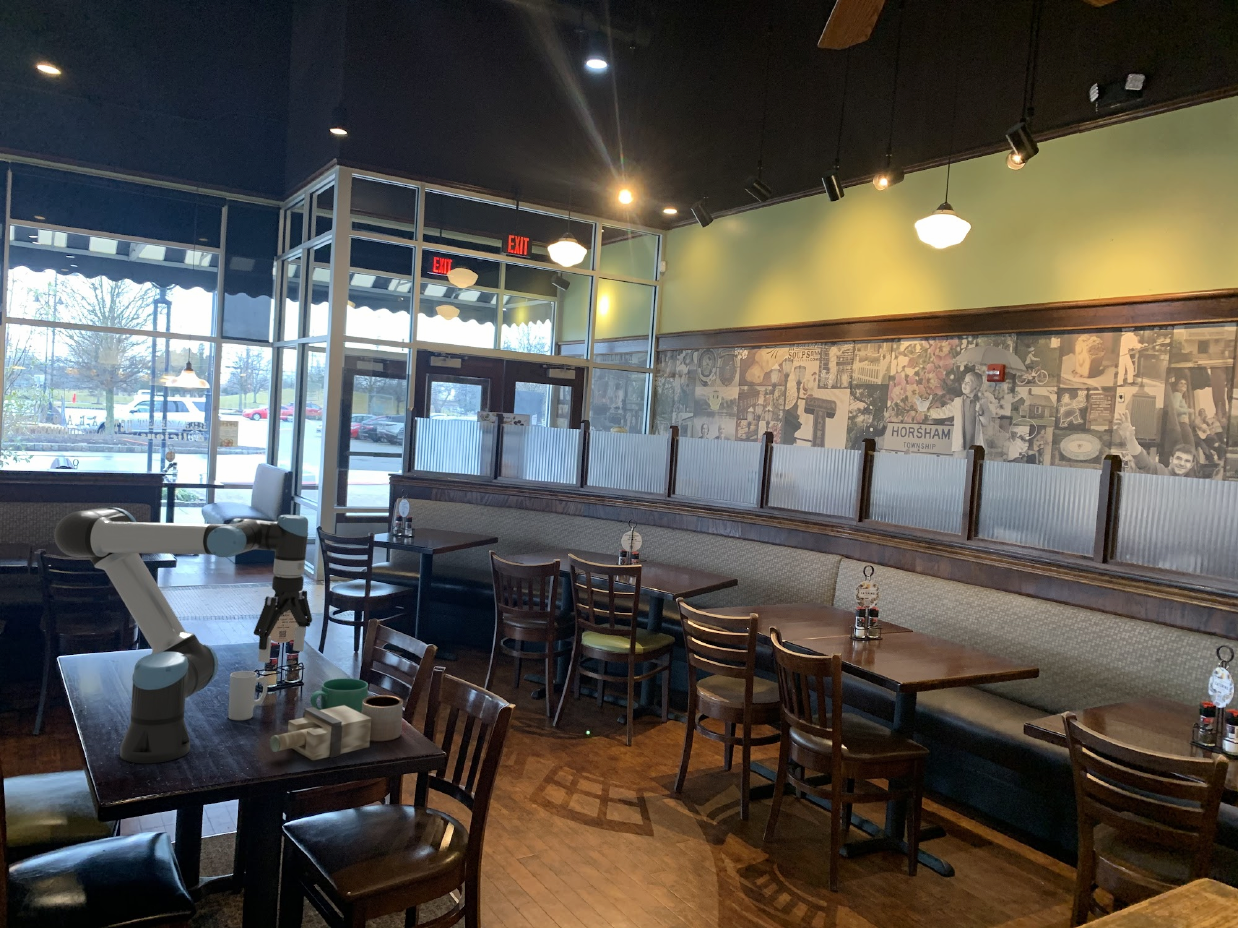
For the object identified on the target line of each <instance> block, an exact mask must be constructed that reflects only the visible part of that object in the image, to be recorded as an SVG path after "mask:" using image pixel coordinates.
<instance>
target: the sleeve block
mask: <svg viewBox="0 0 1238 928" xmlns="http://www.w3.org/2000/svg"><path fill="white" fill-rule="evenodd" d="M287 723H288V725H287V733H289V732H294V731H299V730H304V729H308V728H313V727H318V726H322V727H323V728H318V729H313V730H309V731H307V737H306V745H302V746H298V747H293V748H291V749H293V750H295V751H296V752H298V754H301V755H303V756H305V757H306V758H308V759H309V760H311V761H317V760H321V759H325V758H329V757H330V758H332V759H333V758H336V757H341V755H342V754H346V753H350V752H354V751H357V750H362V749H365V748H369V747H370V742H371V741H370V729H371V718H370V717H368V716H366V715H364V714H362V713H359V712H357V711H355V710H353V709H351V708H349V707H347V706H345V705H343V706H338V707H333V708H328V709H323V710H318V709H316V708H314V707H313V706H312V707H311V706H310V707H307V708H304V710H303V712H302V717H301V718H296V719H291V720H288V722H287Z"/></svg>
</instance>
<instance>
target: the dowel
mask: <svg viewBox="0 0 1238 928" xmlns="http://www.w3.org/2000/svg"><path fill="white" fill-rule="evenodd" d="M318 728H323V727H322V726H318V727H313V728H308V729H304V730H299V731H294V732H289V733H288V732H286V733H281V734H280V733H279V734H275V735H272V736H271V737H270V740H269V742H270V743H269V746H270V750H271V751H272V752H274V753H276V752H279V751H284V750H287V749H288V750H289V749H292V748H293V747H298V746H302V745H306V737H307V731H309V730H313V729H318Z"/></svg>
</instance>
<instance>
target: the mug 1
mask: <svg viewBox="0 0 1238 928" xmlns="http://www.w3.org/2000/svg"><path fill="white" fill-rule="evenodd" d="M258 683H260V684H261V685H262V687H263V688H262V689H263V690H262V693H261V696H259V698H258V699H255V697H256V696H255V695H256V685H257V684H258ZM267 693H268V684H267V681H266V679H265V676H264V675H261V676H259V677H257V672H255V671H251V670H239V671H234V672H231V673H230V677H229V693H228V694H229V696H228V715H227V716H228V718H229V719H230V720H233V721H246V720H250V719H251V718H253V717H254V716H253V714H254V708H255V707H256V706H261V705H262V704H263V702H264V700H265V698H266V696H267Z"/></svg>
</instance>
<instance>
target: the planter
mask: <svg viewBox="0 0 1238 928" xmlns="http://www.w3.org/2000/svg"><path fill="white" fill-rule="evenodd" d="M403 704H404V700H403V699H402V698H400V697H398V696H395V695H394V696H393V695H386V694H380V695H379V694H378V695H372V696H369V697H368V696H367V698H365V699H364V700H363V702H362V714H364V715H366V716H368V717H370V718H371V729H370V742H373V741H374V742H377V743H382V742H383V743H384V741H386V742H390V741H394V740H396V739H397V738H399V737H401V734H402V725H403V709H404V707H403V706H404V705H403Z"/></svg>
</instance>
